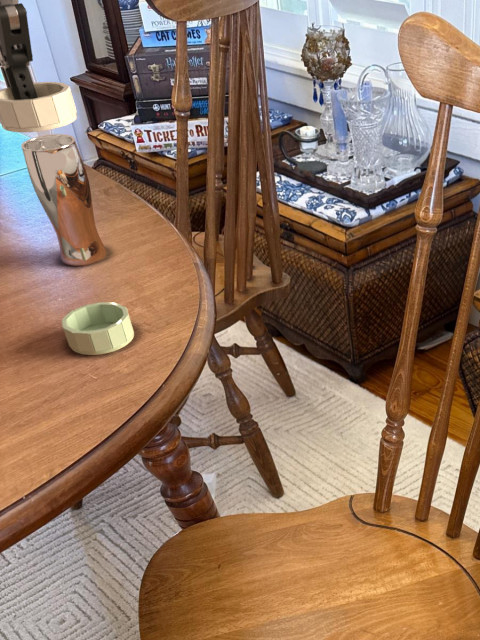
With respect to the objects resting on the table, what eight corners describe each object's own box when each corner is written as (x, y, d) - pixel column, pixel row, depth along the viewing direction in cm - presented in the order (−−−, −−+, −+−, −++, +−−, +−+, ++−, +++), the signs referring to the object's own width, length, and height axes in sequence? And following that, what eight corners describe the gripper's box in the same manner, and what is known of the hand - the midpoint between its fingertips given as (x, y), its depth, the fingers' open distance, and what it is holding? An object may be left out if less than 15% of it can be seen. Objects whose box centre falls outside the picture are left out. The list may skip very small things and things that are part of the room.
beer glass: (119, 255, 109) (86, 140, 99) (74, 272, 106) (35, 154, 95) (94, 242, 113) (60, 130, 102) (49, 257, 109) (9, 143, 99)
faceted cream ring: (14, 137, 77) (3, 105, 75) (-6, 121, 81) (-17, 91, 79) (87, 121, 80) (78, 91, 78) (64, 107, 84) (55, 77, 82)
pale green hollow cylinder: (94, 361, 88) (86, 339, 86) (57, 342, 92) (49, 320, 90) (147, 335, 92) (140, 313, 90) (109, 317, 96) (103, 296, 94)
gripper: (21, -108, 67) (84, 113, 79) (-20, -112, 76) (42, 88, 87) (-70, -100, 64) (9, 128, 76) (-103, -106, 72) (-27, 101, 84)
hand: (27, 106), depth 82 cm, fingers closed on faceted cream ring, 1 cm apart
